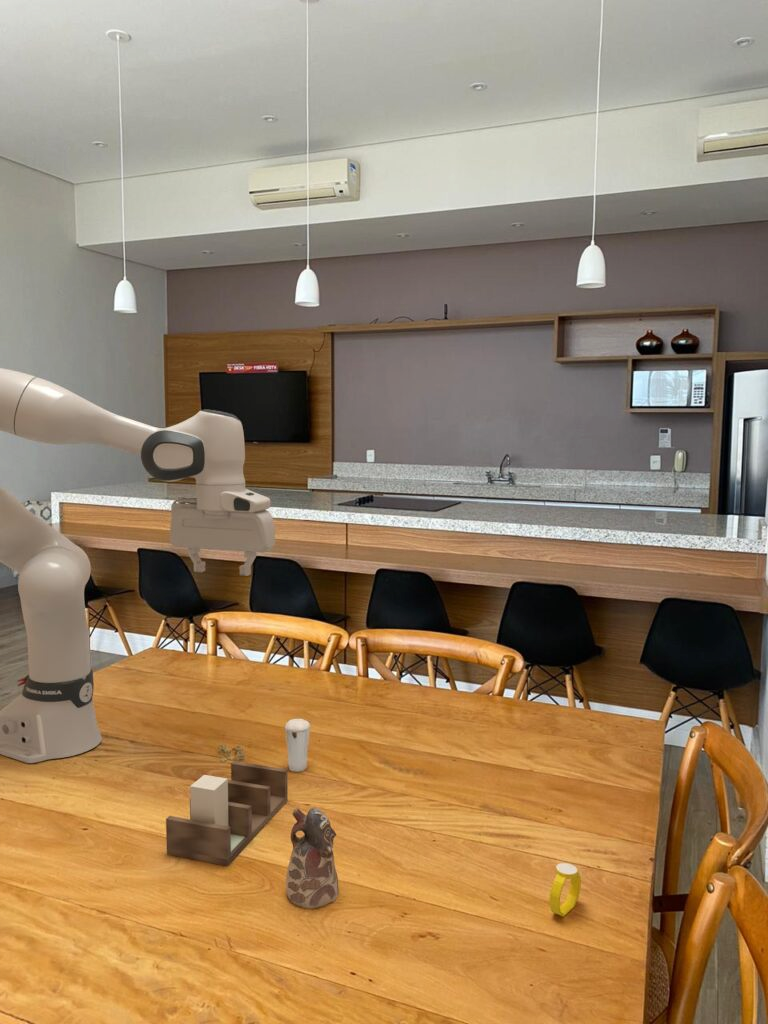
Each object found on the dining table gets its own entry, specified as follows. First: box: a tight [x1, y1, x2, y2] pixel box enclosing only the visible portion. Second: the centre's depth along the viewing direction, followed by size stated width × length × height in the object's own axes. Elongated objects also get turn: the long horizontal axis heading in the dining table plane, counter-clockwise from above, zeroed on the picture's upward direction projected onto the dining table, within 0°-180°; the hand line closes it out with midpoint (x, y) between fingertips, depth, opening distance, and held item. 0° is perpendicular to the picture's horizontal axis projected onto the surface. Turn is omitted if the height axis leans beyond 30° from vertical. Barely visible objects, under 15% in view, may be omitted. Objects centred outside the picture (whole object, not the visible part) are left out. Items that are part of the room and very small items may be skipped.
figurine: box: [285, 807, 340, 910], centre depth 108 cm, size 7×7×12 cm
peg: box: [189, 774, 229, 826], centre depth 120 cm, size 4×4×9 cm
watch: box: [548, 862, 582, 918], centre depth 105 cm, size 6×3×6 cm, turn 139°
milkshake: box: [284, 716, 314, 773], centre depth 146 cm, size 5×5×10 cm
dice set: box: [218, 744, 245, 763], centre depth 152 cm, size 5×5×2 cm
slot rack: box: [165, 760, 289, 867], centre depth 126 cm, size 10×21×6 cm, turn 163°
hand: (222, 573), depth 148 cm, fingers open, 8 cm apart
